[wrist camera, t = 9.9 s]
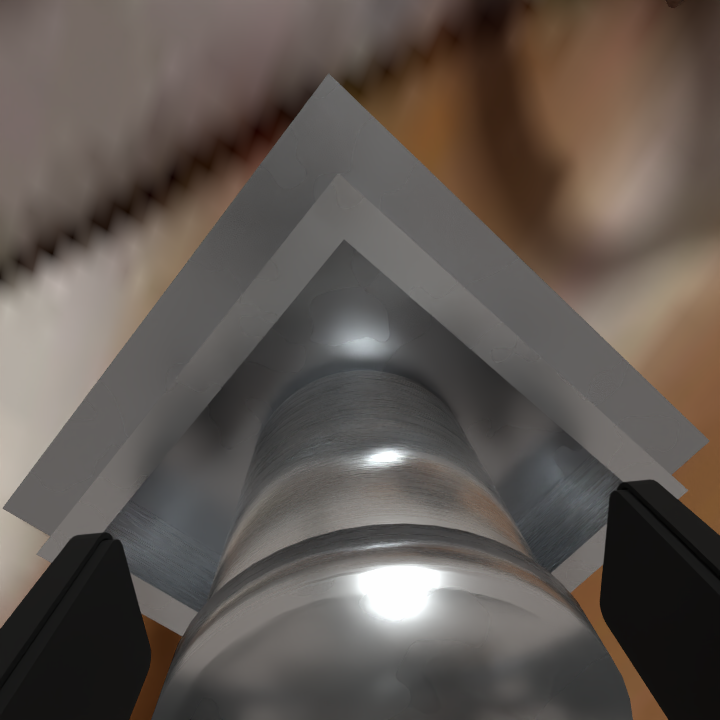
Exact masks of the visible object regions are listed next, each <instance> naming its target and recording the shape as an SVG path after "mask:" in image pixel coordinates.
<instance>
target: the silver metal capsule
mask: <svg viewBox="0 0 720 720" xmlns="http://www.w3.org/2000/svg"><path fill="white" fill-rule="evenodd" d="M151 720H633V718H632V711H631V704H630V698H629V695H628V692H627V689H626V686H625V683H624V681H623V678H622V675H621V674H620V672H619V670H618V668H617V667H616V665H615V663H614V661H613V660H612V658H611V656H610V654H609V653H608V651H607V650H606V648H605V646H604V645H603V643H602V641H601V640H600V638H599V636H598V635H597V633H596V631H595V630H594V628H593V627H592V625H591V623H590V622H589V620H588V618H587V617H586V615H585V613H584V612H583V610H582V609H581V607H580V605H579V604H578V602H577V601H576V599H575V598H574V597H573V596H572V595H571V593H570V592H569V591H568V590H567V589H566V587H565V586H564V585H563V584H562V583H561V582H560V581H559V580H558V579H557V578H556V577H554V576H553V575H552V574H551V573H550V572H549V571H548V570H546V569H545V568H544V567H543V566H541V565H540V564H538V562H537V560H536V558H535V557H534V555H533V553H532V551H531V549H530V548H529V546H528V544H527V542H526V541H525V539H524V537H523V535H522V534H521V532H520V530H519V528H518V526H517V525H516V523H515V521H514V519H513V518H512V516H511V514H510V512H509V511H508V509H507V507H506V505H505V504H504V502H503V500H502V498H501V496H500V495H499V493H498V491H497V489H496V488H495V486H494V484H493V482H492V481H491V479H490V477H489V475H488V474H487V472H486V470H485V468H484V466H483V465H482V463H481V461H480V459H479V458H478V456H477V454H476V452H475V451H474V449H473V447H472V445H471V444H470V442H469V440H468V438H467V436H466V435H465V433H464V431H463V429H462V428H461V426H460V424H459V422H458V421H457V419H456V417H455V416H454V414H453V413H452V412H451V410H450V409H449V408H448V407H447V405H446V404H445V403H444V402H443V401H442V400H441V399H440V398H439V397H437V396H436V395H435V394H434V393H432V392H431V391H430V390H428V389H427V388H425V387H424V386H422V385H420V384H418V383H416V382H414V381H412V380H410V379H407V378H405V377H402V376H399V375H395V374H391V373H387V372H381V371H370V370H361V371H348V372H342V373H336V374H333V375H329V376H326V377H323V378H320V379H318V380H316V381H313V382H311V383H309V384H307V385H305V386H304V387H302V388H300V389H299V390H297V391H296V392H294V393H293V394H292V395H290V396H289V397H288V398H286V399H285V400H284V401H283V402H282V403H281V404H280V405H279V406H278V407H277V408H276V409H275V411H274V412H273V413H272V415H271V416H270V417H269V419H268V420H267V421H266V423H265V425H264V427H263V429H262V431H261V432H260V435H259V438H258V440H257V443H256V446H255V449H254V452H253V455H252V459H251V462H250V465H249V468H248V471H247V475H246V478H245V481H244V484H243V487H242V490H241V494H240V497H239V500H238V503H237V506H236V510H235V513H234V516H233V519H232V522H231V525H230V529H229V532H228V535H227V538H226V541H225V545H224V548H223V551H222V554H221V557H220V560H219V564H218V567H217V570H216V573H215V576H214V580H213V583H212V586H211V589H210V592H209V596H208V599H207V602H206V603H205V605H204V606H203V607H202V608H201V610H200V611H199V612H198V613H197V615H196V616H195V617H194V618H193V620H192V621H191V622H190V624H189V626H188V628H187V629H186V631H185V633H184V635H183V636H182V638H181V640H180V642H179V643H178V646H177V649H176V651H175V654H174V657H173V659H172V662H171V665H170V668H169V671H168V673H167V676H166V679H165V682H164V685H163V688H162V691H161V693H160V696H159V699H158V702H157V705H156V708H155V711H154V713H153V716H152V719H151Z"/></svg>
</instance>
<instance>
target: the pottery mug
mask: <svg viewBox="0 0 720 720" xmlns="http://www.w3.org/2000/svg"><path fill="white" fill-rule="evenodd" d="M666 2H667V4H668V5H669V7H672V8H675V7H677V6H678V5H679V4H681V3H682V2H683V0H666Z"/></svg>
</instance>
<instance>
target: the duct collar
mask: <svg viewBox="0 0 720 720" xmlns="http://www.w3.org/2000/svg"><path fill="white" fill-rule="evenodd" d="M361 370H370V371H381V372H387V373H391V374H395V375H399V376H402V377H405V378H407V379H410V380H412V381H414V382H416V383H418V384H420V385H422V386H424V387H425V388H427V389H428V390H430V391H431V392H432V393H434V394H435V395H436V396H437V397H439V398H440V399H441V400H442V401H443V402H444V403H445V404H446V405H447V407H448V408H449V409H450V410H451V412H452V413H453V414H454V416H455V417H456V419H457V421H458V422H459V424H460V426H461V428H462V429H463V431H464V433H465V435H466V436H467V438H468V440H469V442H470V444H471V445H472V447H473V449H474V451H475V452H476V454H477V456H478V458H479V459H480V461H481V463H482V465H483V466H484V468H485V470H486V472H487V474H488V475H489V477H490V479H491V481H492V482H493V484H494V486H495V488H496V489H497V491H498V493H499V495H500V496H501V498H502V500H503V502H504V504H505V505H506V507H507V509H508V511H509V512H510V514H511V516H512V518H513V519H514V521H515V523H516V525H517V526H518V528H519V530H520V532H521V534H522V535H523V537H524V539H525V541H526V542H527V544H528V546H529V548H530V549H531V551H532V553H533V555H534V557H535V558H536V560H537V562H538V564H540V565H541V566H543V567H544V568H545V569H546V570H548V571H549V572H550V573H551V574H552V575H553V576H554V577H556V578H557V579H558V580H559V581H560V582H561V583H562V584H563V585H564V586H565V587H566V589H567V590H568V591H569V592H570V593H571V592H572V591H573V590H574V589H575V588H576V587H578V586H579V585H580V584H581V583H582V582H583V581H584V580H586V579H587V578H588V577H589V576H590V575H591V574H592V573H594V572H595V571H596V570H597V569H598V568H599V567H601V566H602V565H603V561H604V550H605V540H606V529H607V518H608V507H609V498H610V494H611V492H612V491H616V490H617V487H618V486H619V484H620V483H622V482H628V481H639V480H649V479H651V480H655V481H656V482H658V483H659V484H661V485H662V486H663V487H664V488H665V489H666V490H667V491H669V492H670V493H671V494H672V495H673V496H674V497H676V498H677V499H679V498H680V497H681V496H682V495H683V494H685V493H686V492H687V491H688V490H687V489H686V488H685V487H684V486H683V485H682V484H680V483H679V482H678V481H677V480H676V479H675V478H674V477H673V476H672V474H673V473H674V472H675V471H676V470H677V469H679V468H680V467H681V466H682V465H683V464H684V463H685V462H686V461H688V460H689V459H690V458H691V457H692V456H693V455H694V454H695V453H697V452H698V451H699V450H700V449H701V448H702V447H703V446H705V445H706V444H707V443H708V442H709V440H708V439H707V438H706V437H705V436H704V435H703V434H702V433H701V432H700V431H699V430H698V429H697V428H696V427H695V426H694V425H693V424H691V423H690V422H689V421H688V420H687V419H686V418H685V417H684V416H683V415H682V414H681V413H680V412H679V411H678V410H677V409H676V408H675V407H674V406H673V405H672V404H671V403H670V402H669V401H668V400H667V399H666V398H665V397H663V396H662V395H661V394H660V393H659V392H658V391H657V390H656V389H655V388H654V387H653V386H652V385H651V384H650V383H649V382H648V381H647V380H646V379H645V378H644V377H643V376H642V375H641V374H640V373H639V372H638V371H636V370H635V369H634V368H633V367H632V366H631V365H630V364H629V363H628V362H627V361H626V360H625V359H624V358H623V357H622V356H621V355H620V354H619V353H618V352H617V351H616V350H615V349H614V348H613V347H612V346H611V345H610V344H608V343H607V342H606V341H605V340H604V339H603V338H602V337H601V336H600V335H599V334H598V333H597V332H596V331H595V330H594V329H593V328H592V327H591V326H590V325H589V324H588V323H587V322H586V321H585V320H584V319H583V318H582V317H580V316H579V315H578V314H577V313H576V312H575V311H574V310H573V309H572V308H571V307H570V306H569V305H568V304H567V303H566V302H565V301H564V300H563V299H562V298H561V297H560V296H559V295H558V294H557V293H556V292H555V291H553V290H552V289H551V288H550V287H549V286H548V285H547V284H546V283H545V282H544V281H543V280H542V279H541V278H540V277H539V276H538V275H537V274H536V273H535V272H534V271H533V270H532V269H531V268H530V267H529V266H528V265H527V264H525V263H524V262H523V261H522V260H521V259H520V258H519V257H518V256H517V255H516V254H515V253H514V252H513V251H512V250H511V249H510V248H509V247H508V246H507V245H506V244H505V243H504V242H503V241H502V240H501V239H500V238H498V237H497V236H496V235H495V234H494V233H493V232H492V231H491V230H490V229H489V228H488V227H487V226H486V225H485V224H484V223H483V222H482V221H481V220H480V219H479V218H478V217H477V216H476V215H475V214H474V213H473V212H472V211H470V210H469V209H468V208H467V207H466V206H465V205H464V204H463V203H462V202H461V201H460V200H459V199H458V198H457V197H456V196H455V195H454V194H453V193H452V192H451V191H450V190H449V189H448V188H447V187H446V186H445V185H444V184H442V183H441V182H440V181H439V180H438V179H437V178H436V177H435V176H434V175H433V174H432V173H431V172H430V171H429V170H428V169H427V168H426V167H425V166H424V165H423V164H422V163H421V162H420V161H419V160H418V159H417V158H415V157H414V156H413V155H412V154H411V153H410V152H409V151H408V150H407V149H406V148H405V147H404V146H403V145H402V144H401V143H400V142H399V141H398V140H397V139H396V138H395V137H394V136H393V135H392V134H391V133H390V132H389V131H387V130H386V129H385V128H384V127H383V126H382V125H381V124H380V123H379V122H378V121H377V120H376V119H375V118H374V117H373V116H372V115H371V114H370V113H369V112H368V111H367V110H366V109H365V108H364V107H363V106H362V105H360V104H359V103H358V102H357V101H356V100H355V99H354V98H353V97H352V96H351V95H350V94H349V93H348V92H347V91H346V90H345V89H344V88H343V87H342V86H341V85H340V84H339V83H338V82H337V81H336V80H335V79H334V78H332V77H331V76H330V75H329V74H328V75H327V76H326V78H325V79H324V80H323V82H322V83H321V84H320V86H319V87H318V88H317V90H316V91H315V92H314V94H313V95H312V96H311V98H310V99H309V100H308V102H307V103H306V104H305V106H304V107H303V108H302V110H301V111H300V112H299V114H298V115H297V116H296V118H295V119H294V120H293V122H292V123H291V124H290V126H289V127H288V128H287V130H286V131H285V132H284V134H283V135H282V136H281V138H280V139H279V140H278V142H277V143H276V144H275V146H274V147H273V148H272V150H271V151H270V152H269V154H268V155H267V156H266V158H265V159H264V160H263V162H262V163H261V164H260V166H259V167H258V168H257V170H256V171H255V172H254V174H253V175H252V176H251V178H250V179H249V180H248V182H247V183H246V184H245V186H244V187H243V188H242V190H241V191H240V192H239V194H238V195H237V196H236V198H235V199H234V200H233V202H232V203H231V204H230V206H229V207H228V208H227V210H226V211H225V212H224V214H223V215H222V216H221V218H220V219H219V220H218V222H217V223H216V224H215V226H214V227H213V228H212V230H211V231H210V232H209V234H208V235H207V236H206V238H205V239H204V240H203V242H202V243H201V244H200V246H199V247H198V248H197V250H196V251H195V252H194V254H193V255H192V256H191V258H190V259H189V260H188V262H187V263H186V264H185V266H184V267H183V268H182V270H181V271H180V272H179V274H178V275H177V276H176V278H175V279H174V280H173V282H172V283H171V284H170V286H169V287H168V288H167V290H166V291H165V292H164V294H163V295H162V296H161V298H160V299H159V300H158V302H157V303H156V304H155V306H154V307H153V308H152V310H151V311H150V312H149V314H148V315H147V316H146V318H145V319H144V320H143V322H142V323H141V324H140V326H139V327H138V328H137V330H136V331H135V332H134V334H133V335H132V336H131V338H130V339H129V340H128V342H127V343H126V344H125V346H124V347H123V348H122V350H121V351H120V352H119V354H118V355H117V356H116V358H115V359H114V360H113V362H112V363H111V364H110V366H109V367H108V368H107V370H106V371H105V372H104V374H103V375H102V376H101V378H100V379H99V380H98V382H97V383H96V384H95V386H94V387H93V388H92V390H91V391H90V392H89V394H88V395H87V396H86V398H85V399H84V400H83V402H82V403H81V404H80V406H79V407H78V408H77V410H76V411H75V412H74V414H73V415H72V416H71V418H70V419H69V420H68V422H67V423H66V424H65V426H64V427H63V428H62V430H61V431H60V432H59V434H58V435H57V436H56V438H55V439H54V440H53V442H52V443H51V444H50V446H49V447H48V448H47V450H46V451H45V452H44V454H43V455H42V456H41V458H40V459H39V460H38V462H37V463H36V464H35V466H34V467H33V468H32V470H31V471H30V472H29V474H28V475H27V476H26V478H25V479H24V480H23V482H22V483H21V484H20V486H19V487H18V488H17V490H16V491H15V492H14V494H13V495H12V496H11V498H10V499H9V500H8V502H7V503H6V504H5V506H4V507H3V509H4V510H6V511H8V512H10V513H11V514H13V515H15V516H16V517H18V518H20V519H22V520H23V521H25V522H27V523H29V524H30V525H32V526H34V527H36V528H37V529H39V530H41V531H43V532H44V533H46V534H48V535H49V536H50V538H49V539H48V540H47V541H46V543H45V544H44V545H43V546H42V548H41V549H40V550H39V551H38V553H37V555H39V556H40V557H42V558H44V559H46V560H47V561H49V562H51V563H52V562H53V561H54V559H55V558H56V557H57V556H58V554H59V553H60V552H61V550H62V549H63V548H64V547H65V545H66V544H67V543H68V541H69V540H70V539H71V538H72V537H73V536H76V535H82V534H92V533H103V532H107V533H110V534H111V536H112V537H113V540H114V539H118V540H120V541H121V543H122V545H123V548H124V552H125V556H126V559H127V563H128V567H129V571H130V574H131V578H132V582H133V585H134V589H135V593H136V596H137V600H138V604H139V607H140V611H141V613H142V614H143V615H145V616H147V617H149V618H151V619H152V620H154V621H156V622H158V623H159V624H161V625H163V626H165V627H167V628H168V629H170V630H172V631H174V632H175V633H177V634H179V635H181V636H183V635H184V633H185V631H186V629H187V628H188V626H189V624H190V622H191V621H192V620H193V618H194V617H195V616H196V615H197V613H198V612H199V611H200V610H201V608H202V607H203V606H204V605H205V603H206V602H207V599H208V596H209V592H210V589H211V586H212V583H213V580H214V576H215V573H216V570H217V567H218V564H219V560H220V557H221V554H222V551H223V548H224V545H225V541H226V538H227V535H228V532H229V529H230V525H231V522H232V519H233V516H234V513H235V510H236V506H237V503H238V500H239V497H240V494H241V490H242V487H243V484H244V481H245V478H246V475H247V471H248V468H249V465H250V462H251V459H252V455H253V452H254V449H255V446H256V443H257V440H258V438H259V435H260V432H261V431H262V429H263V427H264V425H265V423H266V421H267V420H268V419H269V417H270V416H271V415H272V413H273V412H274V411H275V409H276V408H277V407H278V406H279V405H280V404H281V403H282V402H283V401H284V400H285V399H286V398H288V397H289V396H290V395H292V394H293V393H294V392H296V391H297V390H299V389H300V388H302V387H304V386H305V385H307V384H309V383H311V382H313V381H316V380H318V379H320V378H323V377H326V376H329V375H333V374H336V373H342V372H348V371H361Z"/></svg>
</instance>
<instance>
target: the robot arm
mask: <svg viewBox="0 0 720 720" xmlns="http://www.w3.org/2000/svg"><path fill="white" fill-rule="evenodd" d="M600 608H601V612H602V615H603V618H604V620H605V622H606V624H607V625H608V627H609V629H610V630H611V632H612V633H613V635H614V636H615V638H616V639H617V641H618V642H619V644H620V646H621V647H622V649H623V650H624V652H625V653H626V655H627V656H628V658H629V659H630V661H631V663H632V664H633V666H634V667H635V669H636V670H637V672H638V673H639V675H640V676H641V678H642V680H643V681H644V683H645V684H646V686H647V687H648V689H649V690H650V692H651V693H652V695H653V696H654V698H655V700H656V701H657V703H658V704H659V706H660V707H661V709H662V710H663V712H664V713H665V715H666V717H667V718H668V720H720V535H718V534H717V533H716V532H715V531H714V530H713V529H711V528H710V527H709V526H708V525H707V524H706V523H704V522H703V521H702V520H701V519H700V518H699V517H698V516H696V515H695V514H694V513H693V512H692V511H691V510H689V509H688V508H687V507H686V506H685V505H684V504H682V503H681V502H680V501H679V500H678V499H677V498H676V497H674V496H673V495H672V494H671V493H670V492H669V491H667V490H666V489H665V488H664V487H663V486H662V485H661V484H659V483H658V482H656V481H655V480H651V479H649V480H639V481H628V482H622V483H620V484H619V486H618V487H617V490H616V491H612V492H611V494H610V498H609V507H608V518H607V529H606V540H605V550H604V561H603V572H602V583H601V593H600ZM150 661H151V649H150V644H149V641H148V637H147V633H146V630H145V626H144V622H143V618H142V615H141V611H140V607H139V604H138V600H137V596H136V593H135V589H134V585H133V582H132V578H131V574H130V571H129V567H128V563H127V559H126V556H125V552H124V548H123V545H122V543H121V541H120V540H118V539H114V540H113V537H112V536H111V534H110V533H107V532H103V533H92V534H82V535H76V536H73V537H72V538H71V539H70V540H69V541H68V543H67V544H66V545H65V547H64V548H63V549H62V550H61V552H60V553H59V554H58V556H57V557H56V558H55V559H54V561H53V562H52V563H51V565H50V566H49V567H48V568H47V570H46V571H45V572H44V573H43V575H42V576H41V577H40V579H39V580H38V581H37V582H36V584H35V585H34V586H33V588H32V589H31V590H30V591H29V593H28V594H27V595H26V597H25V598H24V599H23V600H22V602H21V603H20V604H19V606H18V607H17V608H16V609H15V611H14V612H13V613H12V615H11V616H10V617H9V618H8V620H7V621H6V622H5V624H4V625H3V626H2V627H1V629H0V720H129V719H130V716H131V714H132V711H133V709H134V706H135V703H136V701H137V698H138V696H139V693H140V691H141V688H142V686H143V683H144V681H145V678H146V676H147V673H148V670H149V667H150Z"/></svg>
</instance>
